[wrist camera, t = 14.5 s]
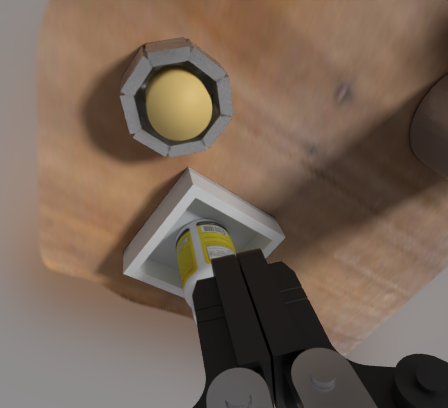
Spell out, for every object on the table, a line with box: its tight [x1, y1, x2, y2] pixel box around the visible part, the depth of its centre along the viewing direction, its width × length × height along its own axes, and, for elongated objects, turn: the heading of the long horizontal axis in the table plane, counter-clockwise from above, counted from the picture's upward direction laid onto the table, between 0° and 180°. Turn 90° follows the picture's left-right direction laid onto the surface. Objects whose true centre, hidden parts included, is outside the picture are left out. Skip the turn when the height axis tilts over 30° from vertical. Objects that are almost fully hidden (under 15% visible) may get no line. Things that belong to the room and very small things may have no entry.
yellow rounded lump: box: [145, 65, 212, 141], centre depth 25 cm, size 4×4×3 cm
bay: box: [123, 167, 286, 298], centre depth 33 cm, size 10×10×3 cm
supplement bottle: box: [175, 219, 236, 325], centre depth 30 cm, size 5×5×8 cm
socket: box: [120, 37, 233, 158], centre depth 26 cm, size 7×7×3 cm
